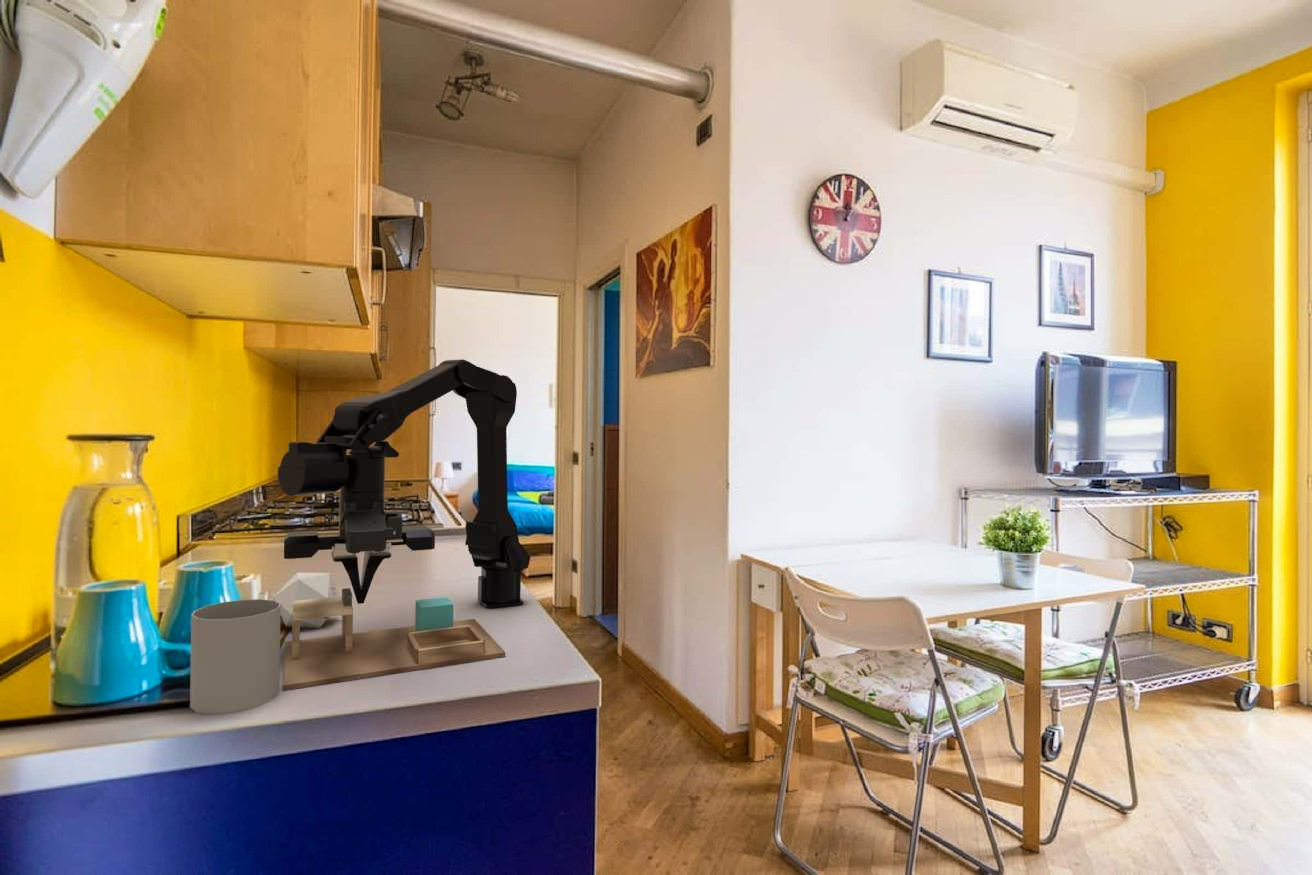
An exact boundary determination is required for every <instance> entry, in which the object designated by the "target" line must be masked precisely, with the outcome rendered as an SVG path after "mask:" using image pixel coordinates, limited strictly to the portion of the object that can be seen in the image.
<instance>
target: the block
mask: <svg viewBox="0 0 1312 875" xmlns="http://www.w3.org/2000/svg"><path fill="white" fill-rule="evenodd" d="M414 608H415V610H414V611H415V612H414V614H415V615H414V616H415V618H414V626H415V631H416V632H418V631H426V630H434V629H441V628H449V627H453V621H454V603H453V602H452V601H451V600H450V599H449V597H447V596H445V597H443V596H442V597H434V598H426V599H415V606H414Z"/></svg>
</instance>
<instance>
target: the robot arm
mask: <svg viewBox="0 0 1312 875" xmlns="http://www.w3.org/2000/svg"><path fill="white" fill-rule="evenodd" d="M450 392H453V393H454V394H455V395H456V396H459V397H460V398H463V399H465V401H466V402H465V403H466V410H467V413H468V415H469V416H470V418H471V420H472V422H473V424H474V425H475V428H476V453H477V454H476V456H477V458H476V459H477V464H476V465H477V467H476V468H477V504H478V506H477V513H476V514H475V516H474V517H473V519H472V521H466V523H465V526H464V527H465V532H466V538H465V543H464V546H467V547H468V548H467V549H468V552H469V555H470V556H471V558H472V562H473V566H474V567H476V568H481V570H480V571H481V575H479V576H478V577H477V600H478V601H479V602H480V603H481V604H482V605H483V606H484V608H487V609H491V608H501V607H510V606H518V605H524V603H525V602H524V600H522V598H521V591H522V590H521V588H522V586H521V585H522V584H521V582H522V581H521V579H522V578H521V577H522V572H523V571H524V570H526V569H528V568H529V565H530V562H531V554H529V552H528V551H527V550H526V549H525V547H524V546H523V545H522V544H521V542H520V540H519V532H518V525H517V523H516V522H515V520H514V519H513V516H512V515H511V512H510V511H509V507H508V506H509V505H508V503H509V501H508V448H507V447H508V446H507V443H508V442H507V439H508V438H507V427H508V425H509V423H510V422H511V420H512V418H513V416H514V414H515V412H516V404H517V395H518V392H517V385H516V383H515V382H513V380H512V379H511V378H510V377H509V376H508V375H504V374H501V375H500V374H499V373H497V372H495V371H491V370H489V369H485V368H483V367H481V366H477V365H476V364H474V363H472V362H471V361H468V360H466V359H447V360H443V361H442V362H440V363H439V364H438V365H437V366H434V367H433V368H430V369H429V370H426V371H425V372H422V373H421V374H419V375H416V376H415V377H413V378H410V379H409V380H407V381H405V382H403V383H401V384H398V385H396V386H395V387H393V388H390V389H389V390H387V391H384V392H379V393H374V394H370V395H369V394H368V395H364V396H361V397H356V398H353V399H349V400H346V401H345V400H344V401H342V402H341V403H339V404H338V405H337V406H336V407H335V409H334V414H333V418H332V420H331V421H330V423H329V424H328V426H327V427H326V428H325V430H324V431H323V433H322V434H321V435H320V436H319V438H318V439H317V440H316V442H314V443H313V442H307V441H290V442H288V451H287V452H286V453H285V454H284V455H283V457H282V458H281V461H280V465H279V466H278V468H277V479H278V483H279V486H280V489H281V490H282V491H283V493H284V494H286V495H287V496H289V497H297V496H307V495H310V496H311V495H322V494H323V495H325V494H332V493H337V492H338V491H339V502H338V503H339V505H338V506H339V508H338V510H339V511H338V517H339V518H338V534H337V535H323V536H322V535H320V536H319V532H318V531H317V530H302V531H300V530H299V531H289V532H288V533H286V535H284V536H283V559H286V560H296V559H305V558H306V559H308V558H313V556H315V555H316V553H318V552H319V551H325V550H328V551H329V550H330V551H331V553H330V554H331V559H332V561H333V562H334V563H340V562H341V564H342V565H343V568H344V569H345V571H346V573H347V575H348V578H349V581H350V584H351V586H352V587H351V588H352V590H353V593H354V596H355V599H356V602H357V605H360V604H364V603H365V601H366V597H367V595H368V593H369V589H370V587H371V584H372V582H373V579H374V576H375V574H376V572H377V570H378V568H379V566H380V565H381V564H382V563H383V560H385V559H386V560H387V559H391V558H392V553H391V552H390V550H391V549H392V546H393V547H395V546H406V547H408V548H409V549H410V550H411V551H412V552H413V551H428V550H435V548H436V544H435V543H436V535H435V532H434V531H433V530H432V529H431V528H430V527H428V526H427V525H420V524H419V525H406V526H405V525H404V526H403V515H402V512H387V513H386V512H385V500H386V499H385V498H386V497H385V496H386V495H385V494H386V491H385V490H386V488H385V487H386V481H385V480H386V459H387V458H398V457H399V456H400V453H399V452H398V451H397V450H396V449H395V448H394V447H392V445H391V444H390V443H389V441H388V440H387V439H389V437H391V436H392V435H394V434H395V432H398V430H399V429H400V428H402V426H403V425H404V422H405V420H406V419H407V418H408V417H409V416H410V415H411V414H412V413H415V412H417V411H418V410H420V409H422V408H423V407H426V406H427V405H429V404H431V403H432V402H435V401H436V400H438V399H439V398H441V397H443V396H445V395H446V394H448V393H450ZM386 440H387V441H386ZM348 450H350V451H349V452H348V453H347V451H348ZM362 552H364V554H363V563H362V572H361V577H360V572H359V564H358V563H359V562H358V560H359V559H358V556H357V554H359V553H362ZM360 578H361V579H360Z"/></svg>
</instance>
